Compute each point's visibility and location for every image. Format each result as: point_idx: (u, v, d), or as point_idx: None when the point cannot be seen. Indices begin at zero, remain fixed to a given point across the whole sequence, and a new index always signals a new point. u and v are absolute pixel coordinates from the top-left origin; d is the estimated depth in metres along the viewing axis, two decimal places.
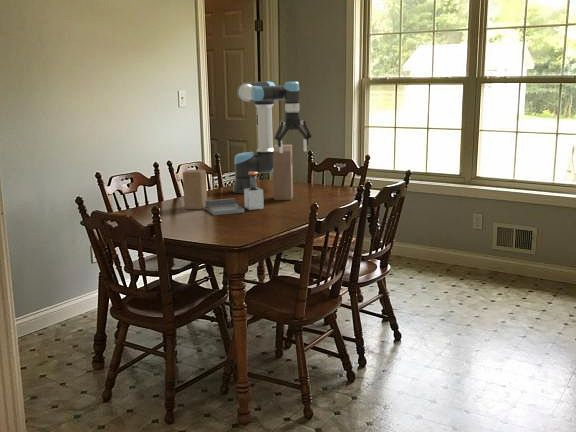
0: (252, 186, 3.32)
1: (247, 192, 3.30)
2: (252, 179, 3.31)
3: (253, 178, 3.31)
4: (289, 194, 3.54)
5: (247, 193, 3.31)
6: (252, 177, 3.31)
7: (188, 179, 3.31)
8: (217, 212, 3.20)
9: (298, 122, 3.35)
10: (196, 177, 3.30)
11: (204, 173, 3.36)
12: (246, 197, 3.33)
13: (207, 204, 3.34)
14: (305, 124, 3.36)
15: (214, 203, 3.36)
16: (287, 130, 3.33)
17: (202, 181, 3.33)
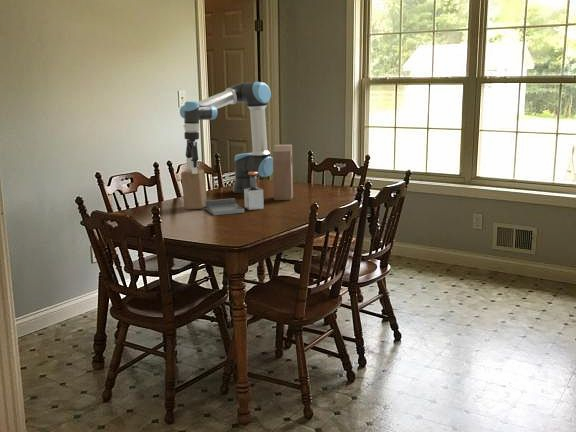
0: (252, 186, 3.32)
1: (247, 192, 3.30)
2: (252, 179, 3.31)
3: (253, 178, 3.31)
4: (289, 194, 3.54)
5: (247, 193, 3.31)
6: (252, 177, 3.31)
7: (186, 179, 3.31)
8: (217, 212, 3.20)
9: (190, 143, 3.29)
10: (194, 176, 3.30)
11: (202, 172, 3.36)
12: (246, 197, 3.33)
13: (207, 204, 3.34)
14: (192, 145, 3.25)
15: (214, 203, 3.36)
16: (187, 149, 3.35)
17: (200, 181, 3.33)
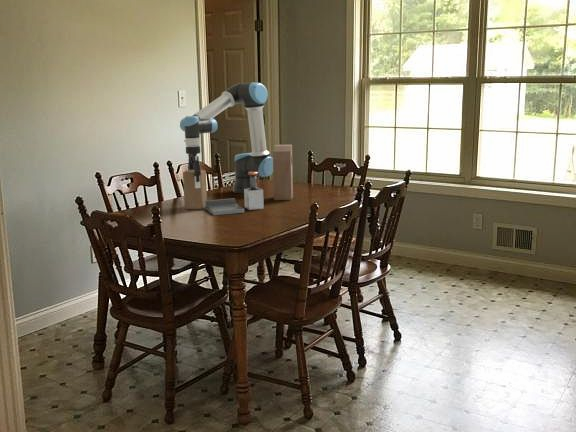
0: (252, 186, 3.32)
1: (247, 192, 3.30)
2: (252, 179, 3.31)
3: (253, 178, 3.31)
4: (289, 194, 3.54)
5: (247, 193, 3.31)
6: (252, 177, 3.31)
7: (188, 179, 3.31)
8: (217, 212, 3.20)
9: (192, 157, 3.30)
10: None
11: (204, 173, 3.36)
12: (246, 197, 3.33)
13: (207, 204, 3.34)
14: (194, 160, 3.27)
15: (214, 203, 3.36)
16: (190, 163, 3.37)
17: (202, 181, 3.33)
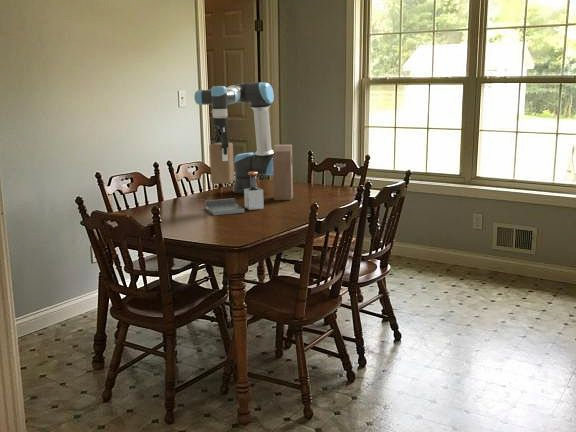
0: (252, 186, 3.32)
1: (247, 192, 3.30)
2: (252, 179, 3.31)
3: (253, 178, 3.31)
4: (289, 194, 3.54)
5: (247, 193, 3.31)
6: (252, 177, 3.31)
7: (215, 152, 3.19)
8: (217, 212, 3.20)
9: (219, 129, 3.18)
10: None
11: (231, 146, 3.24)
12: (246, 197, 3.33)
13: (207, 204, 3.34)
14: (221, 132, 3.15)
15: (214, 203, 3.36)
16: (216, 135, 3.25)
17: (229, 154, 3.21)
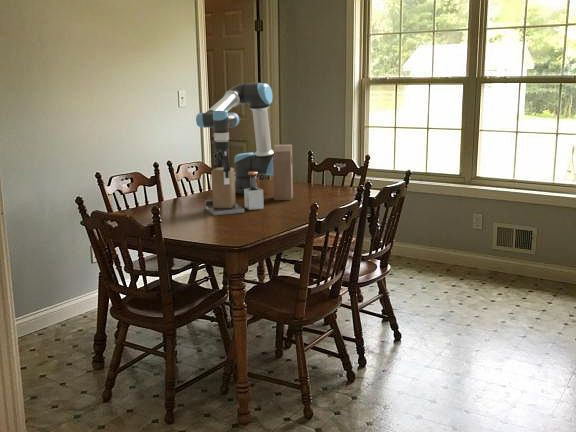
0: (252, 186, 3.32)
1: (247, 192, 3.30)
2: (252, 179, 3.31)
3: (253, 178, 3.31)
4: (289, 194, 3.54)
5: (247, 193, 3.31)
6: (252, 177, 3.31)
7: (217, 177, 3.22)
8: (217, 212, 3.20)
9: (221, 152, 3.21)
10: None
11: (233, 171, 3.27)
12: (246, 197, 3.33)
13: (207, 204, 3.34)
14: (223, 156, 3.17)
15: None
16: (218, 159, 3.27)
17: (231, 179, 3.24)
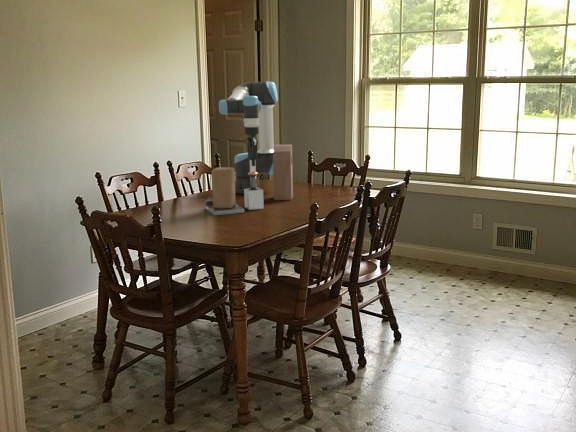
0: (252, 186, 3.32)
1: (247, 192, 3.30)
2: (252, 179, 3.31)
3: (253, 178, 3.31)
4: (289, 194, 3.54)
5: (247, 193, 3.31)
6: (252, 177, 3.31)
7: (217, 177, 3.22)
8: (217, 212, 3.20)
9: (251, 137, 3.24)
10: (225, 175, 3.21)
11: (233, 171, 3.27)
12: (246, 197, 3.33)
13: (207, 204, 3.34)
14: (252, 145, 3.23)
15: None
16: (249, 146, 3.29)
17: (231, 179, 3.24)
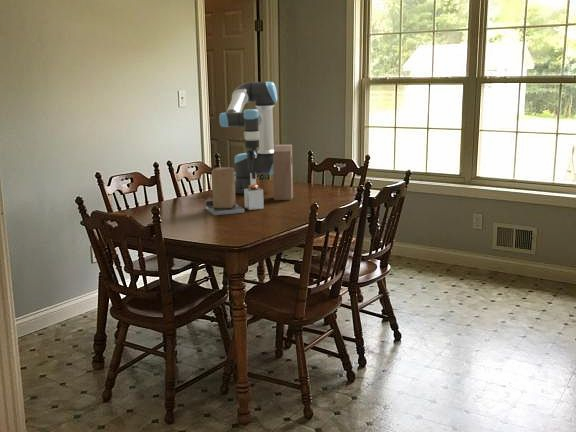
0: None
1: (247, 192, 3.30)
2: None
3: None
4: (289, 194, 3.54)
5: (247, 193, 3.31)
6: None
7: (217, 177, 3.22)
8: (217, 212, 3.20)
9: (251, 151, 3.26)
10: (225, 175, 3.21)
11: (233, 171, 3.27)
12: (246, 197, 3.33)
13: (207, 204, 3.34)
14: (253, 158, 3.25)
15: None
16: (249, 159, 3.30)
17: (231, 179, 3.24)
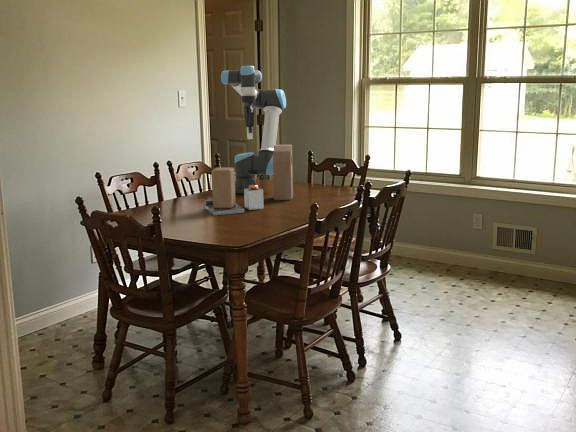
0: None
1: (247, 192, 3.30)
2: None
3: None
4: (289, 194, 3.54)
5: (247, 193, 3.31)
6: None
7: (217, 177, 3.22)
8: (217, 212, 3.20)
9: (248, 105, 3.41)
10: (225, 175, 3.21)
11: (233, 171, 3.27)
12: (246, 197, 3.33)
13: (207, 204, 3.34)
14: (249, 112, 3.40)
15: None
16: (246, 114, 3.46)
17: (231, 179, 3.24)
